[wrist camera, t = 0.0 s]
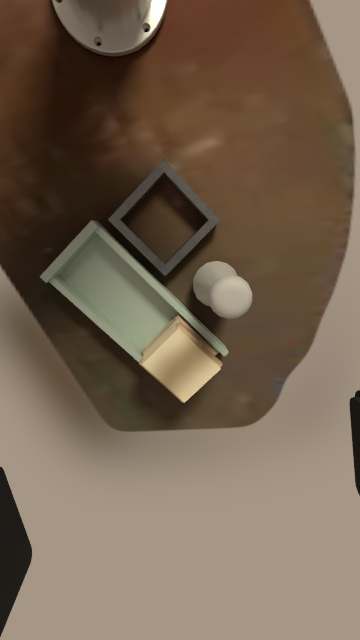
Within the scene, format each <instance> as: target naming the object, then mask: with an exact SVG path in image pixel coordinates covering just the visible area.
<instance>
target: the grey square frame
mask: <svg viewBox="0 0 360 640" xmlns="http://www.w3.org/2000/svg"><path fill="white" fill-rule="evenodd" d="M164 176H165V177H166V178H167V179H168V180H169V182H170V183H171V184H172V185H173V186H174V187H175V188H176V189H177V190H178V191H179V192H180V193H181V194H182V195H183V196H184V198H185V199H186V200H187V201H188V202H189V203H190V204H191V205H192V206H193V207H194V208H195V209H196V210H197V211H198V212H199V214H200V215H201V216H202V217H203V218H204V219H205V220H206V222H205V223H204V224H203V225H202V226H201V227H200V228H199V229H198V230H197V231H196V232H195V233H194V234H193V235H192V236H191V237H190V238H189V239H188V240H187V241H186V242H185V243H184V244H183V245H182V246H181V247H180V248H179V249H178V251H177V252H176V253H175V254H174V255H173V256H172V257H171V258H170V259H169V260H168V261H167V262H166V263H164V262H163V261H162V260H161V259H160V258H159V257H158V256H157V255H156V254H155V253H154V252H153V251H152V250H151V249H150V248H149V247H148V246H147V245H146V244H145V243H144V242H143V241H142V240H141V239H140V238H139V237H138V236H137V235H136V234H135V233H134V232H133V231H132V230H131V229H130V228H129V227H128V226H127V225H126V224H125V223H124V222H123V221H122V220H123V219H124V218H125V217H126V216H127V215H128V214H129V213H130V212H131V211H132V210H133V209H134V208H135V207H136V205H137V204H138V203H139V202H140V201H141V200H142V199H143V198H144V197H145V196H146V195H147V194H148V193H149V192H150V190H151V189H152V188H153V187H154V186H155V185H156V184H157V183H158V182H159V181H160V180H161V179H162V178H163V177H164ZM108 220H109V221H110V222H111V223H112V224H113V225H114V226H115V227H116V228H117V229H118V230H119V231H120V232H121V233H122V234H123V235H124V236H125V237H126V238H127V239H128V240H129V241H130V242H131V243H132V244H133V245H134V246H135V247H136V248H137V249H138V250H139V251H140V252H141V253H142V254H143V255H144V256H145V257H146V258H147V259H148V260H149V261H150V262H151V263H152V264H153V265H154V266H155V267H156V268H157V269H158V270H159V271H160V272H161V273H162V274H163V275H164V276H166V275H167V274H168V273H169V272H170V271H171V270H172V269H173V268H174V267H175V266H176V265H177V264H178V263H179V262H180V261H181V260H182V259H183V258H184V257H185V256H186V255H187V254H188V253H189V252H190V251H191V250H192V249H193V248H194V247H195V246H196V245H197V244H198V243H199V242H200V241H201V239H202V238H203V237H204V236H205V235H206V234H207V233H208V232H209V231H210V230H211V229H212V228H213V227H214V226H215V225H216V224H217V223H218V222H219V221H220V219H219V218H218V217H217V216H216V214H215V213H214V212H213V211H212V210H211V209H210V208H209V207H208V206H207V205H206V204H205V203H204V201H203V200H202V199H201V198H200V197H199V196H198V195H197V194H196V193H195V192H194V191H193V190H192V189H191V187H190V186H189V185H188V184H187V183H186V182H185V181H184V180H183V179H182V178H181V177H180V176H179V174H178V173H177V172H176V171H175V170H174V169H173V168H172V167H171V166H170V165H169V164H168V163H167V161H166V160H165V159H163V160H162V162H161V163H160V164H159V165H158V166H157V167H156V168H155V169H154V170H153V171H152V172H151V173H150V175H149V176H148V177H147V178H146V179H145V180H144V181H143V182H142V183H141V184H140V185H139V186H138V188H137V189H136V190H135V191H134V192H133V193H132V194H131V195H130V196H129V197H128V198H127V199H126V201H125V202H124V203H123V204H122V205H121V206H120V207H119V208H118V209H117V210H116V211H115V212H114V214H113V215H112V216H111V217H110V218H109V219H108Z"/></svg>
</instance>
